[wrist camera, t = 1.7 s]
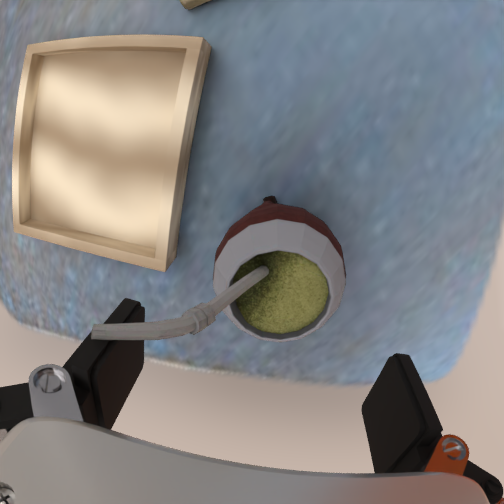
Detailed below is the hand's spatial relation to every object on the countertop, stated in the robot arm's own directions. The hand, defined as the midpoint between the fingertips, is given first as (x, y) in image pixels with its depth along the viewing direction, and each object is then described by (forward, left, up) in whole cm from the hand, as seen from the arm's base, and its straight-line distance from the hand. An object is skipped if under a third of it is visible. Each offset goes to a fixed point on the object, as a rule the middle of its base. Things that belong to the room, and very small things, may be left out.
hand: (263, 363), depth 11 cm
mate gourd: (-1, 0, -12) cm, 12 cm away
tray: (-5, -14, -12) cm, 19 cm away
